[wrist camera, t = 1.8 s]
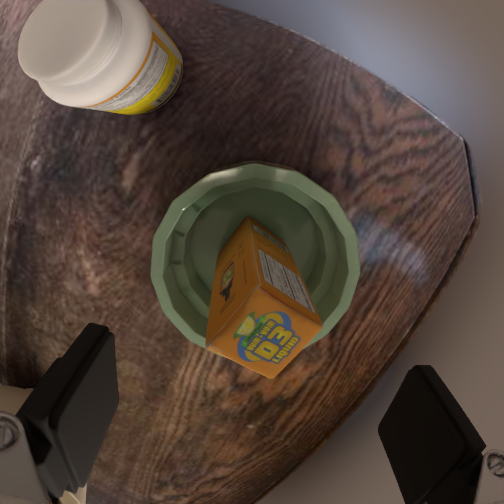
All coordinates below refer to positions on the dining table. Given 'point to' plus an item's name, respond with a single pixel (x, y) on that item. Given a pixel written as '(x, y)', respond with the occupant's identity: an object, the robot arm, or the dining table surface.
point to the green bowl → (269, 216)
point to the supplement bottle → (100, 55)
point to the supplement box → (259, 302)
